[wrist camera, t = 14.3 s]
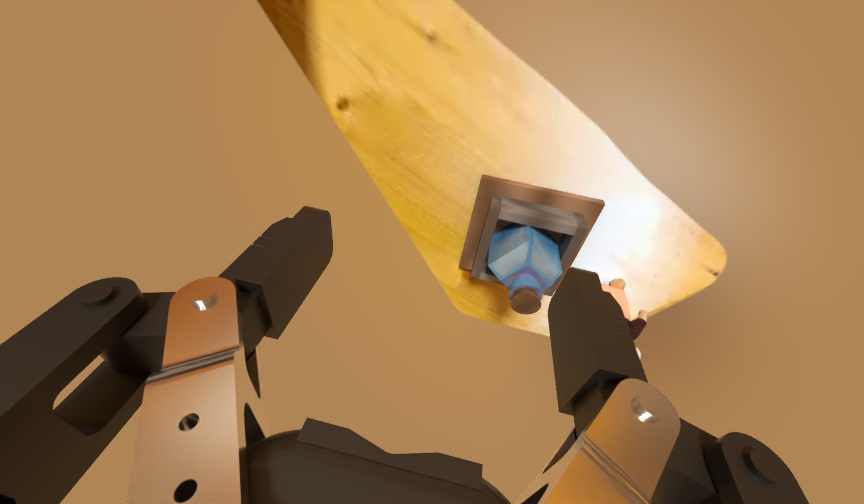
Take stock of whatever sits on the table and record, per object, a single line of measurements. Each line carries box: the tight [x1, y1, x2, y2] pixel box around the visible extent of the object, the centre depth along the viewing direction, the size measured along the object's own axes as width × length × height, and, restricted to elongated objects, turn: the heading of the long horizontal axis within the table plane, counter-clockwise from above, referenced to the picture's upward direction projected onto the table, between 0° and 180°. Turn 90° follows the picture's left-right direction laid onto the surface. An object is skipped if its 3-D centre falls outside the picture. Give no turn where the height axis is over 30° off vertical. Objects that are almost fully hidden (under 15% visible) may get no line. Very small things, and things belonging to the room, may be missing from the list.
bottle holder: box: [459, 175, 605, 296], centre depth 42 cm, size 15×15×4 cm
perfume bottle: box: [488, 222, 562, 314], centre depth 39 cm, size 6×6×12 cm
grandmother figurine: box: [601, 279, 648, 359], centre depth 42 cm, size 8×4×13 cm, turn 133°
